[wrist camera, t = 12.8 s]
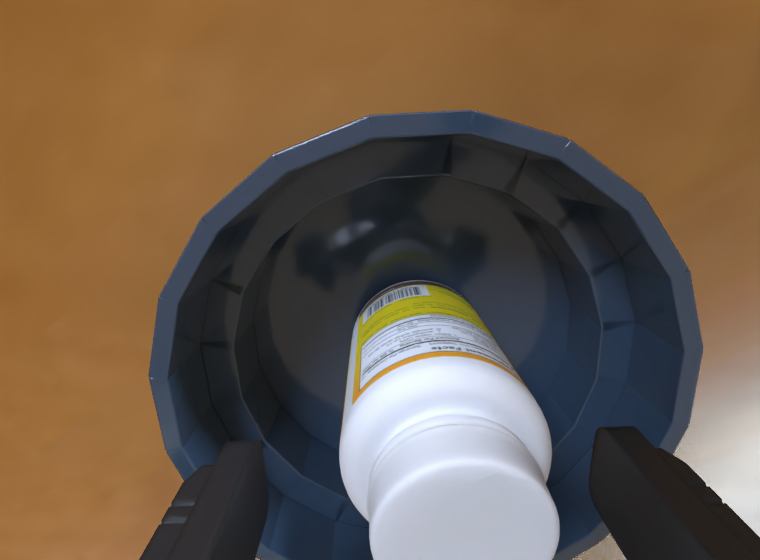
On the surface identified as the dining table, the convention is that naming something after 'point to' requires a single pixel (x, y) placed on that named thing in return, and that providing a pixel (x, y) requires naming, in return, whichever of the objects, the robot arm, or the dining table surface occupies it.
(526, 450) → the supplement bottle
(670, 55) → the dining table surface
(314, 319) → the bowl
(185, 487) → the robot arm
